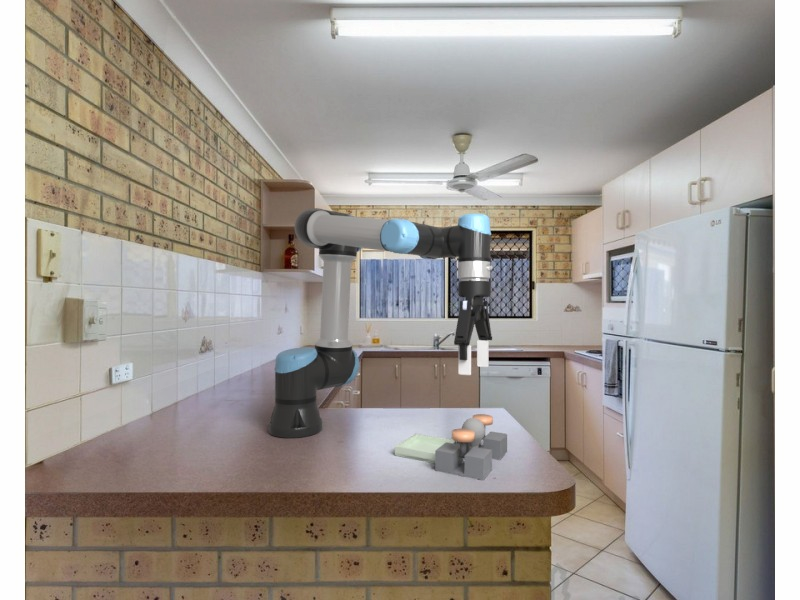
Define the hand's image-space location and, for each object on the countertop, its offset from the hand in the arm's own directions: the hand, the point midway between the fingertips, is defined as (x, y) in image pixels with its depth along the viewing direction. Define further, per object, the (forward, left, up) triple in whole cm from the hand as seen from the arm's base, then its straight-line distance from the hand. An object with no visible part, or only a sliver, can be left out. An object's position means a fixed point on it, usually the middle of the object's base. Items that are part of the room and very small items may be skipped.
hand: (474, 370), depth 104 cm
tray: (-12, 0, -21) cm, 25 cm away
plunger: (0, -7, -18) cm, 20 cm away
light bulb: (0, 0, -22) cm, 22 cm away
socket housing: (0, 0, -21) cm, 21 cm away
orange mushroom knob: (0, +7, -18) cm, 19 cm away
